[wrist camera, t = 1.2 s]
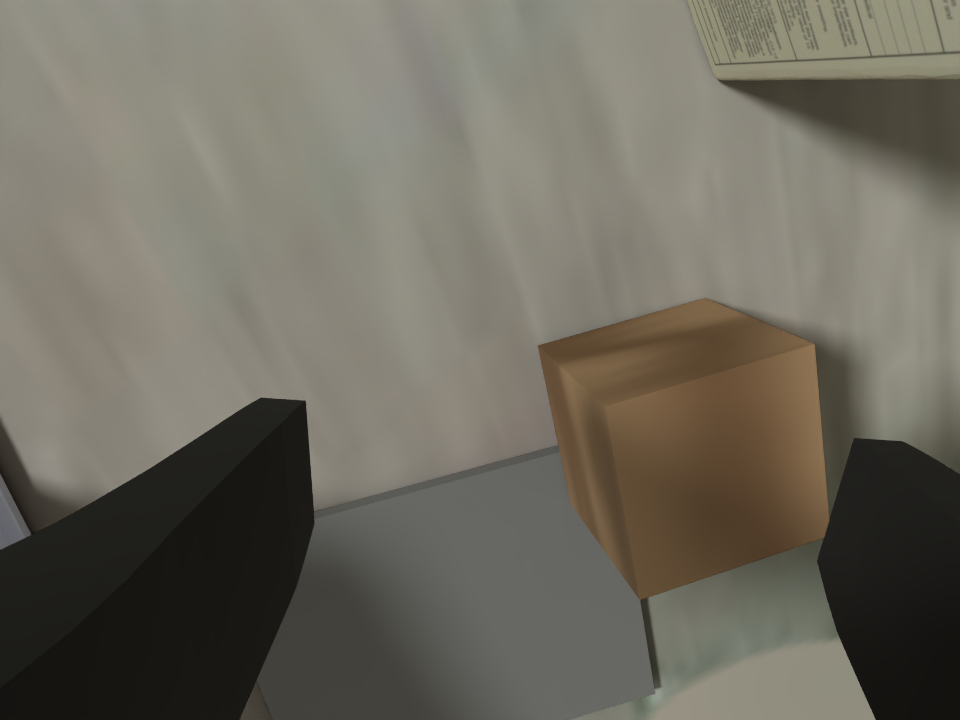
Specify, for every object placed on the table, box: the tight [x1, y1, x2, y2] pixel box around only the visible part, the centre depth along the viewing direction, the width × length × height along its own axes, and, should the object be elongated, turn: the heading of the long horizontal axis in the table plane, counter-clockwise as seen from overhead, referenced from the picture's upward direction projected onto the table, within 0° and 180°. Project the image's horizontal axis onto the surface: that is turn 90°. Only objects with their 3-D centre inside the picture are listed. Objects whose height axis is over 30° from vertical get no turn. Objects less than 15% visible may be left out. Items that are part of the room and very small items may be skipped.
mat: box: [256, 446, 655, 720], centre depth 24 cm, size 12×10×1 cm
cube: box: [538, 298, 829, 600], centre depth 20 cm, size 5×5×5 cm
